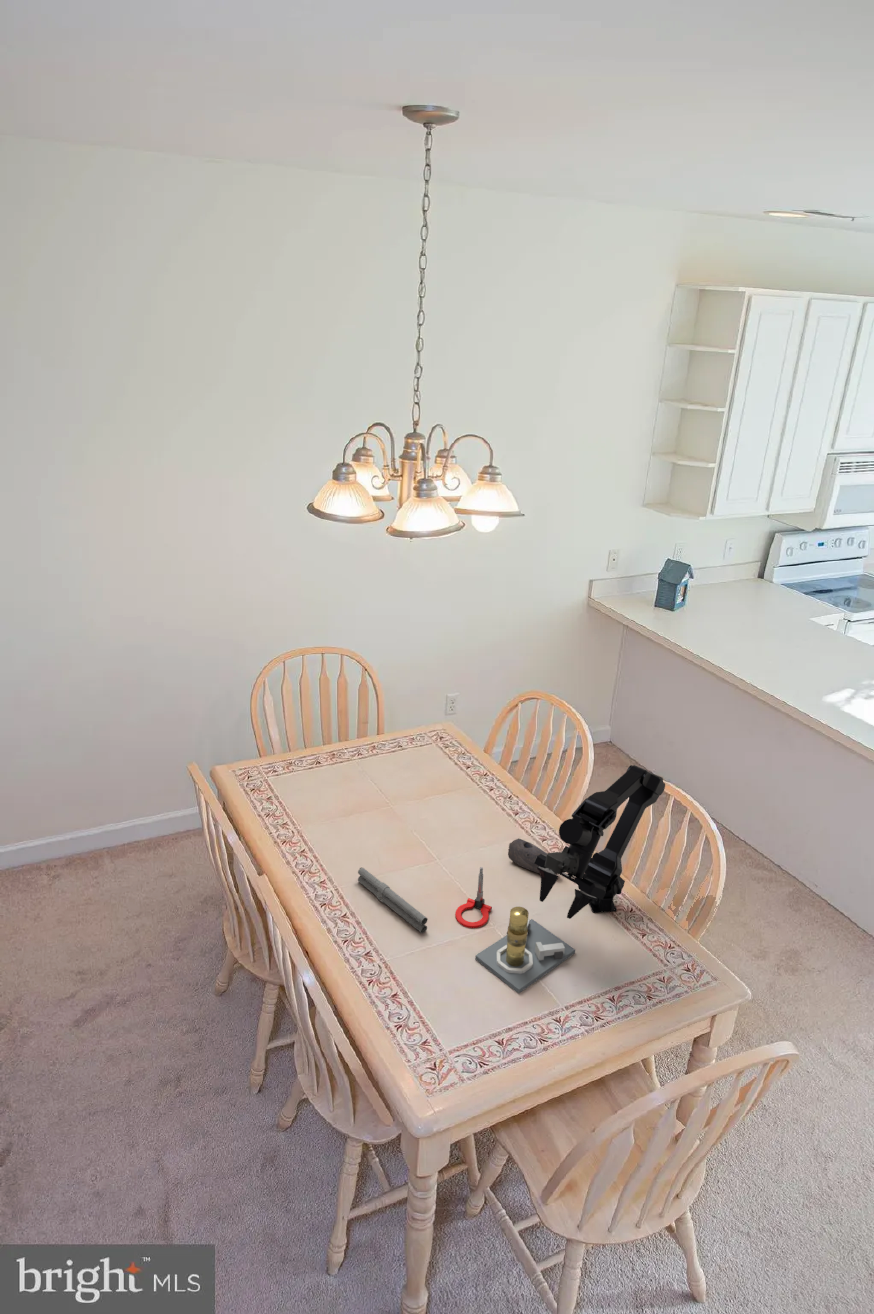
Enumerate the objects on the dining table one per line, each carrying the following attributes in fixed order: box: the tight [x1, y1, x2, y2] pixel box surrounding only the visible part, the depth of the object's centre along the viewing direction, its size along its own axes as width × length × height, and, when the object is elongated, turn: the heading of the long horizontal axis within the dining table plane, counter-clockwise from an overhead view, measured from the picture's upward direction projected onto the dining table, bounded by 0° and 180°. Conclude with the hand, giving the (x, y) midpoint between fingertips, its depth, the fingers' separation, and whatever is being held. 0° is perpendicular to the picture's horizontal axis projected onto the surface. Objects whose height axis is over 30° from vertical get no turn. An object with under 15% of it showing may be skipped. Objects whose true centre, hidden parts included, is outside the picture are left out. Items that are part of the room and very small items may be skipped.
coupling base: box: [475, 918, 576, 994], centre depth 209 cm, size 20×14×4 cm
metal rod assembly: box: [357, 867, 429, 934], centre depth 223 cm, size 26×3×5 cm, turn 43°
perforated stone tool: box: [507, 837, 558, 876], centre depth 239 cm, size 15×5×7 cm, turn 54°
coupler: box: [506, 906, 529, 966], centre depth 204 cm, size 5×5×14 cm
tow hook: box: [454, 866, 493, 929], centre depth 219 cm, size 8×13×9 cm
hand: (554, 909), depth 206 cm, fingers open, 9 cm apart
